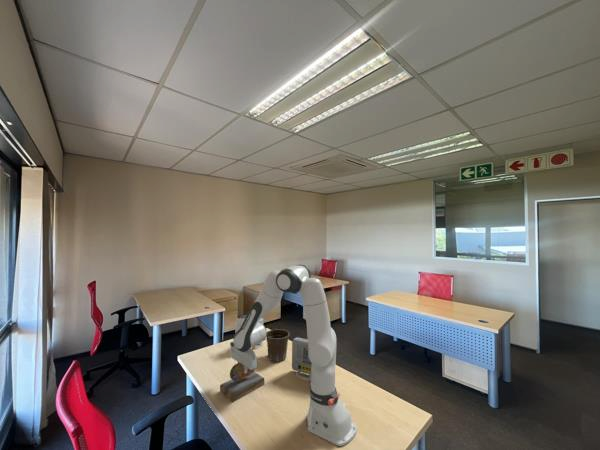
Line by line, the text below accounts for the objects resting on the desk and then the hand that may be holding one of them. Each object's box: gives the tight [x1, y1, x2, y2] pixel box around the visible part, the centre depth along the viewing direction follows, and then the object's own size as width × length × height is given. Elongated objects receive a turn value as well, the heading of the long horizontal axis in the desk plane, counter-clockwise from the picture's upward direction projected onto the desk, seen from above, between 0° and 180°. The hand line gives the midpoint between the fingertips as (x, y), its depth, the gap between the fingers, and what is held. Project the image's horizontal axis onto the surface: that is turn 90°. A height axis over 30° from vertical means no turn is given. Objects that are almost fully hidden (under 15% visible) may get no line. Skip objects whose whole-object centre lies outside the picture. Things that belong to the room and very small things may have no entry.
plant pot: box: [265, 328, 290, 363], centre depth 167 cm, size 16×16×16 cm
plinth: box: [219, 370, 265, 403], centre depth 134 cm, size 12×20×4 cm, turn 137°
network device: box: [291, 337, 312, 382], centre depth 145 cm, size 26×9×20 cm, turn 65°
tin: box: [229, 362, 255, 382], centre depth 134 cm, size 15×3×8 cm, turn 137°
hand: (242, 371), depth 134 cm, fingers closed on tin, 2 cm apart
